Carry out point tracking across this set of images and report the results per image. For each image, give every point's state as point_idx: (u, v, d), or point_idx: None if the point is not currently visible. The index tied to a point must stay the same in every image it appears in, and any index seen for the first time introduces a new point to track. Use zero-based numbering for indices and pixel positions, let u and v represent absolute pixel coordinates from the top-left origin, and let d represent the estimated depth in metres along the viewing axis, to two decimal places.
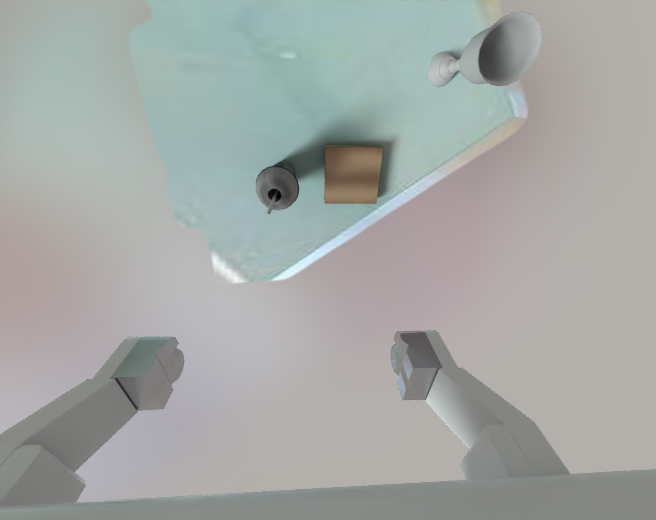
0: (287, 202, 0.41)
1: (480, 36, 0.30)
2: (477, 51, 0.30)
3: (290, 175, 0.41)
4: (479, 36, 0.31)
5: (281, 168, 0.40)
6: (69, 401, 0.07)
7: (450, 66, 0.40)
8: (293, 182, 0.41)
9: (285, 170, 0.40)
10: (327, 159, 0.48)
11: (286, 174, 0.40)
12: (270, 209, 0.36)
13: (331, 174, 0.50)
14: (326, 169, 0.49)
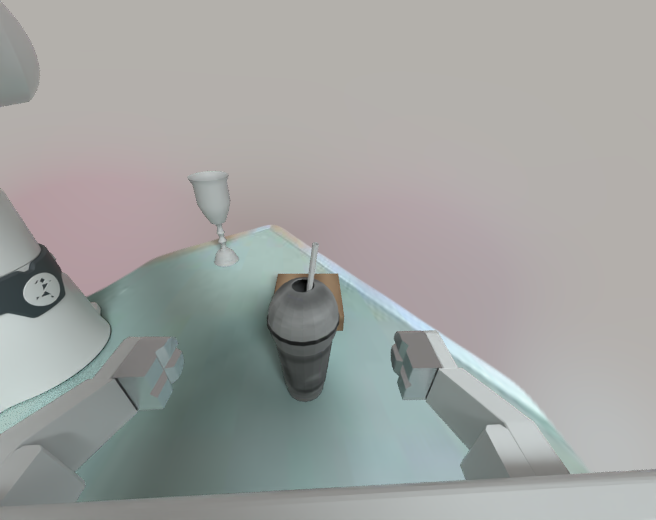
0: None
1: (197, 194, 0.45)
2: (203, 188, 0.43)
3: None
4: (197, 196, 0.45)
5: None
6: (69, 401, 0.07)
7: (221, 241, 0.52)
8: None
9: None
10: None
11: None
12: None
13: None
14: None
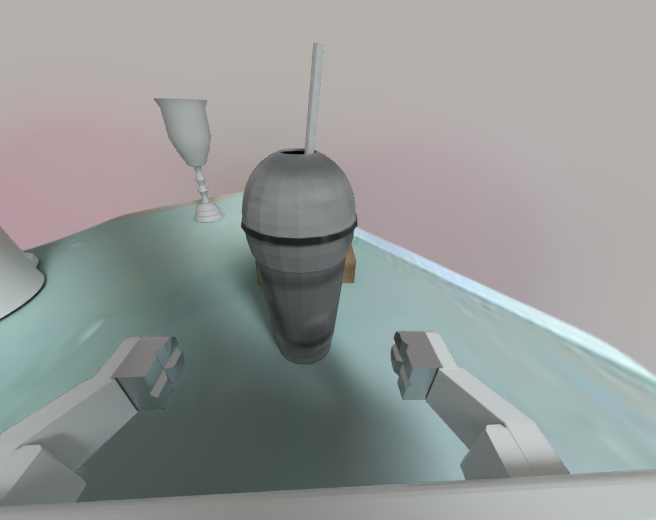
0: None
1: (166, 120, 0.35)
2: (173, 110, 0.34)
3: None
4: (166, 123, 0.36)
5: None
6: (69, 401, 0.07)
7: (201, 190, 0.42)
8: None
9: None
10: None
11: None
12: None
13: None
14: None
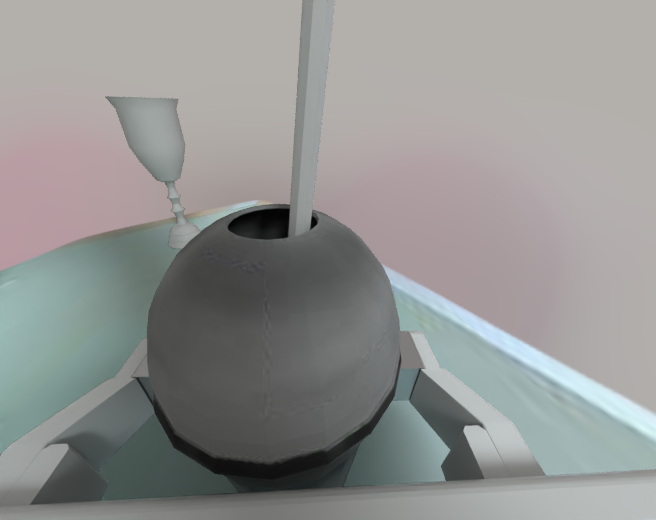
0: None
1: (123, 125, 0.27)
2: (131, 112, 0.26)
3: None
4: (124, 128, 0.28)
5: None
6: (93, 400, 0.07)
7: (175, 210, 0.34)
8: None
9: None
10: None
11: None
12: None
13: None
14: None
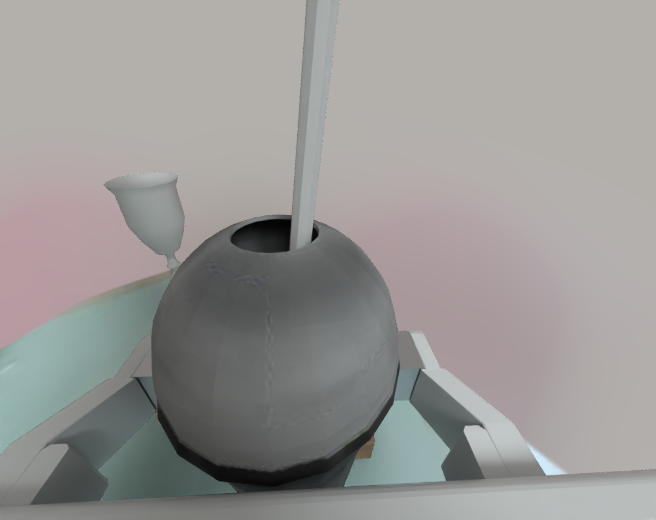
0: None
1: (122, 210, 0.27)
2: (130, 200, 0.26)
3: None
4: (123, 213, 0.27)
5: None
6: (92, 400, 0.07)
7: None
8: None
9: None
10: None
11: None
12: None
13: None
14: None
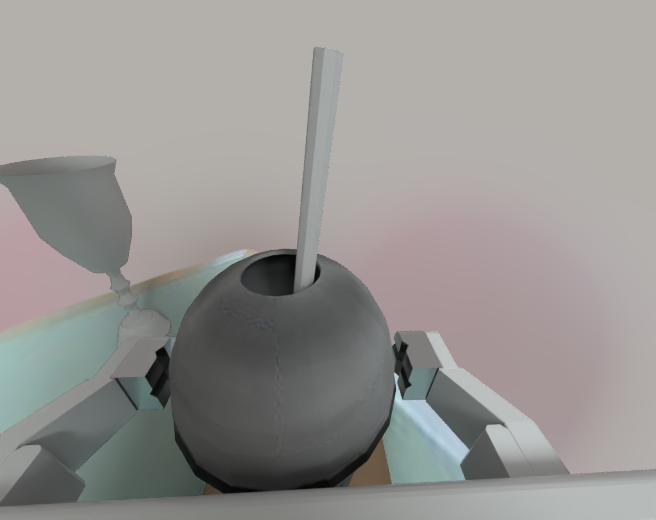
0: None
1: (22, 209, 0.18)
2: (27, 194, 0.17)
3: None
4: (25, 214, 0.18)
5: None
6: (69, 401, 0.07)
7: (123, 303, 0.25)
8: (258, 277, 0.10)
9: None
10: None
11: None
12: None
13: None
14: None
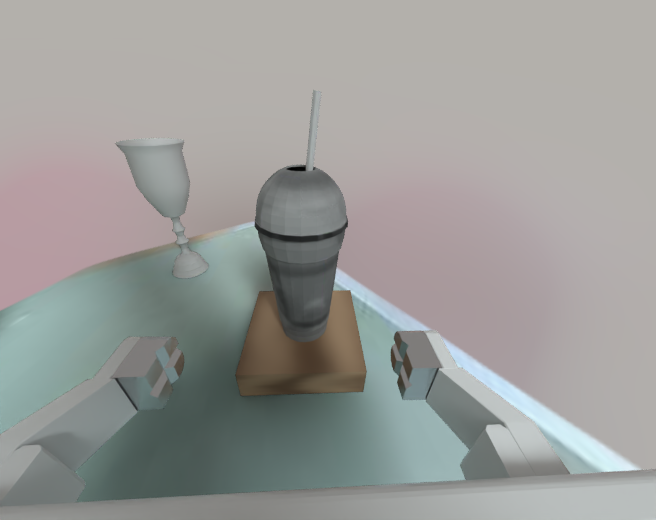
0: None
1: (132, 169, 0.29)
2: (139, 158, 0.28)
3: None
4: (133, 172, 0.29)
5: None
6: (69, 401, 0.07)
7: (180, 242, 0.36)
8: None
9: None
10: (263, 370, 0.21)
11: None
12: None
13: (297, 361, 0.22)
14: (285, 371, 0.21)
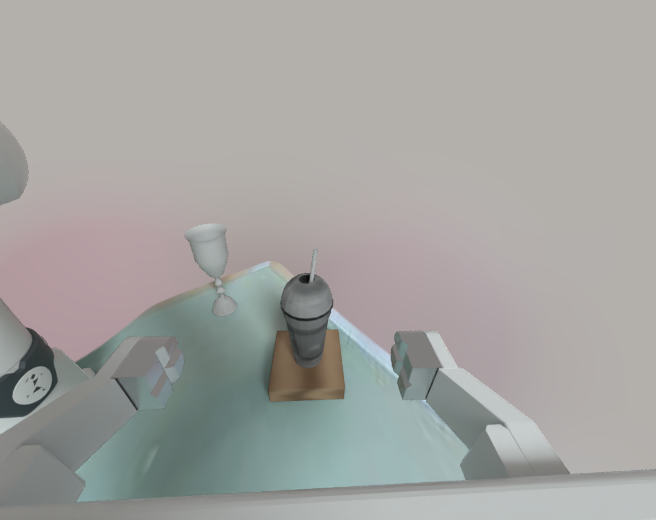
0: None
1: (194, 251, 0.44)
2: (200, 246, 0.43)
3: None
4: (194, 253, 0.44)
5: None
6: (69, 401, 0.07)
7: (219, 292, 0.51)
8: None
9: None
10: (284, 386, 0.36)
11: None
12: (313, 254, 0.31)
13: (304, 380, 0.37)
14: (297, 387, 0.36)
